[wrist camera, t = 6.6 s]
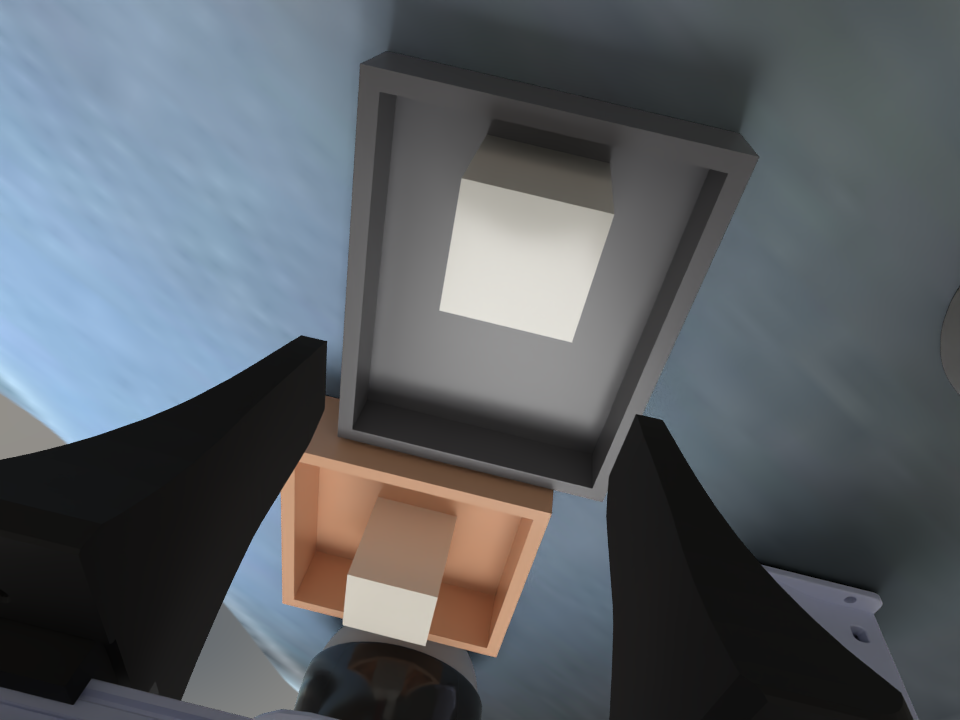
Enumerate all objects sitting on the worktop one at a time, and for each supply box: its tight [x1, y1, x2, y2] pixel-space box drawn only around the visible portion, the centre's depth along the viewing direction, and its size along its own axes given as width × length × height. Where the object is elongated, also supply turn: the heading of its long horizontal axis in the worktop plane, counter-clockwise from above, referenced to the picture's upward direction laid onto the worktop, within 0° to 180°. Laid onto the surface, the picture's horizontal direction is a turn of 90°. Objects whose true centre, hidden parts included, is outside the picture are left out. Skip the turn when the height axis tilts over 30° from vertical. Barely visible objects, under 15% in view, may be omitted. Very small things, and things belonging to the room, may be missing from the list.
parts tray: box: [337, 51, 759, 502], centre depth 22 cm, size 11×14×3 cm
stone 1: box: [342, 497, 457, 646], centre depth 29 cm, size 4×4×4 cm
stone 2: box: [439, 135, 614, 342], centre depth 18 cm, size 4×4×4 cm
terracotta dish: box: [281, 396, 553, 657], centre depth 29 cm, size 11×11×4 cm
